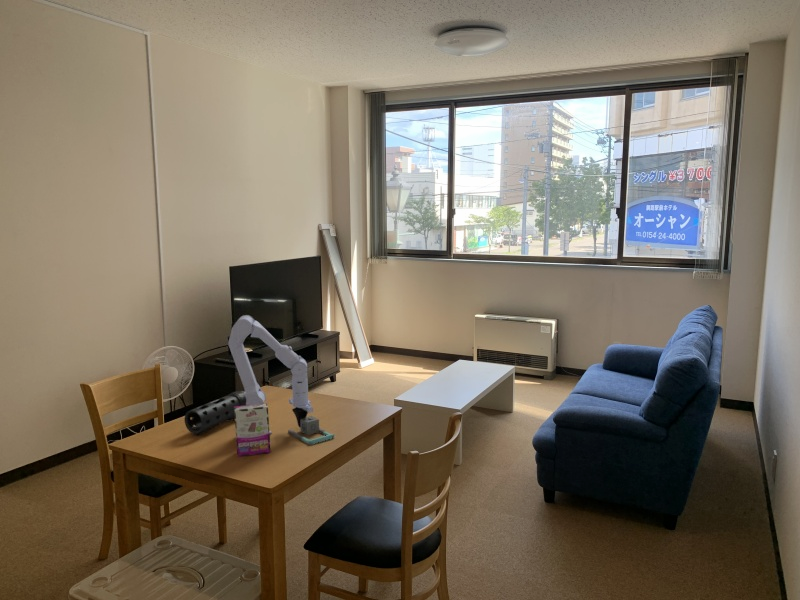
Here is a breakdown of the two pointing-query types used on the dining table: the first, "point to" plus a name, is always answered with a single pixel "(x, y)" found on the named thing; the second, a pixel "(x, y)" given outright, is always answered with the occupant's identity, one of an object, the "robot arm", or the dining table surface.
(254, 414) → the candy bar box
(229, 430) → the dining table surface
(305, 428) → the dice cube
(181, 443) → the dining table surface
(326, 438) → the guide lane
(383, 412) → the dining table surface
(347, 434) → the dining table surface
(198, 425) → the muzzle brake
